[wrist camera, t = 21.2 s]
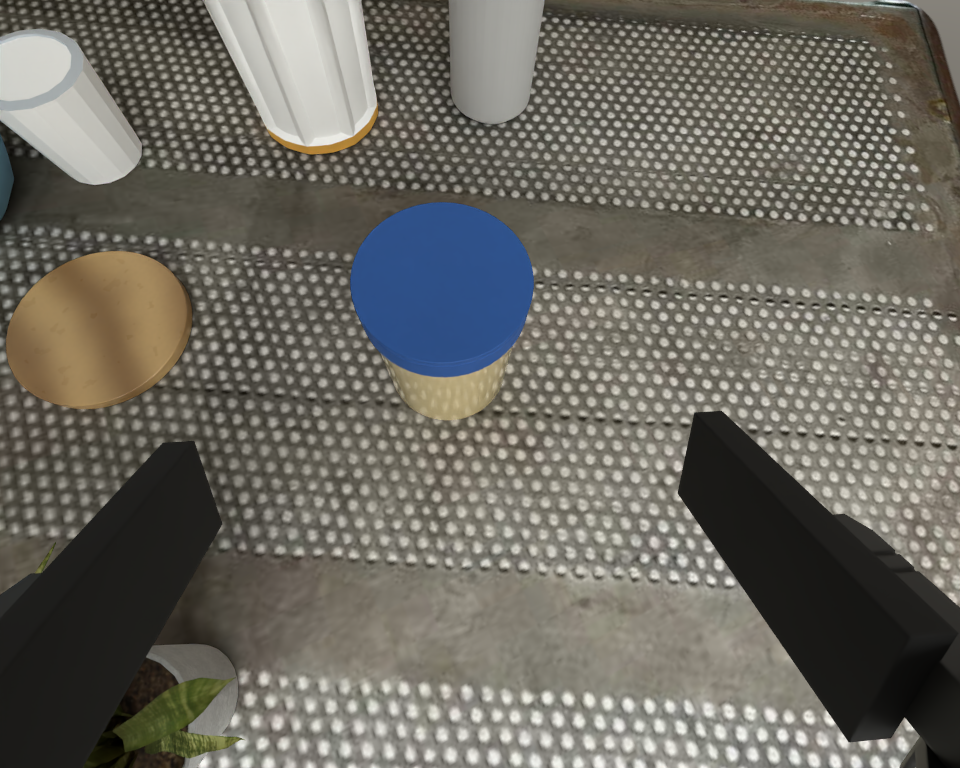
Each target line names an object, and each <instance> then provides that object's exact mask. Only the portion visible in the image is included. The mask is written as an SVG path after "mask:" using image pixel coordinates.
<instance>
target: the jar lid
mask: <svg viewBox="0 0 960 768" xmlns="http://www.w3.org/2000/svg"><path fill="white" fill-rule="evenodd" d="M533 289H534V277H533V270H532V266H531V262H530V259H529V256H528V254H527V252H526V250H525V248H524V246H523V245H522V243H521V242H520V240H519V238H518V237H517V236H516V235H515V234H514V233H513V231H512V230H511V229H509V228H508V227H507V226H506V225H505V224H504V223H503V222H501V221H500V220H498V219H497V218H496V217H494V216H492V215H490V214H488V213H487V212H484V211H482V210H480V209H477V208H474V207H471V206H467V205H463V204H457V203H446V202H438V203H427V204H421V205H417V206H413V207H410V208H407V209H404V210H402V211H399V212H397V213H396V214H394V215H392V216H390V217H388V218H387V219H386V220H384V221H383V222H381V223H380V224H379V225H378V226H377V227H376V228H374V229H373V230H372V231H371V233H370V234H369V235H368V236H367V237H366V238H365V240H364V241H363V243H362V245H361V246H360V248H359V250H358V252H357V254H356V256H355V259H354V262H353V266H352V270H351V277H350V290H351V296H352V301H353V304H354V307H355V310H356V312H357V315H358V317H359V319H360V322H361V324H362V326H363V328H364V330H365V332H366V334H367V336H368V338H369V339H370V341H371V342H372V344H373V345H374V346H375V348H376V349H377V350H378V351H379V352H380V353H381V354H382V355H383V356H385V357H386V358H387V359H388V360H390V361H391V362H393V363H394V364H396V365H397V366H399V367H401V368H403V369H406V370H408V371H410V372H413V373H417V374H420V375H424V376H430V377H457V376H462V375H466V374H470V373H473V372H476V371H479V370H481V369H483V368H485V367H487V366H489V365H491V364H492V363H494V362H495V361H497V360H498V359H499V358H501V357H502V356H503V355H504V354H505V353H506V352H507V351H508V350H509V349H510V348H511V347H512V346H513V344H514V343H515V341H516V340H517V338H518V337H519V335H520V333H521V331H522V329H523V327H524V324H525V321H526V317H527V314H528V311H529V307H530V304H531V300H532V296H533Z"/></svg>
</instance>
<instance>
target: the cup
mask: <svg viewBox="0 0 960 768" xmlns="http://www.w3.org/2000/svg"><path fill="white" fill-rule="evenodd" d="M203 2H204V4H205V6H206V8H207V10H208V12H209V14H210V16H211V18H212V20H213V22H214V24H215V26H216V28H217V30H218V32H219V34H220V36H221V38H222V40H223V42H224V44H225V46H226V48H227V50H228V52H229V54H230V56H231V58H232V60H233V62H234V64H235V66H236V68H237V70H238V72H239V74H240V76H241V77H242V79H243V81H244V83H245V85H246V87H247V89H248V91H249V93H250V95H251V97H252V99H253V101H254V103H255V105H256V107H257V109H258V111H259V114H260V116H261V118H262V121H263V122H264V124H265V126H266V129H267V130H268V132H269V134H270V136H271V137H272V138H273V139H275V140H276V141H277V142H279V143H280V144H282V145H284V146H285V147H287V148H289V149H292V150H295V151H298V152H302V153H306V154H324V153H333V152H336V151H339V150H342V149H345V148H348V147H350V146H352V145H355V144H356V143H357V142H359V141H360V140H361V139H362V138H363V137H364V136H365V135H366V134H367V133H368V132H369V131H370V130H371V128H372V126H373V125H374V123H375V120H376V118H377V116H378V104H377V98H376V92H375V88H374V83H373V77H372V70H371V63H370V57H369V50H368V43H367V37H366V30H365V24H364V17H363V10H362V4H361V0H203Z"/></svg>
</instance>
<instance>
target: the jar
mask: <svg viewBox="0 0 960 768" xmlns="http://www.w3.org/2000/svg"><path fill="white" fill-rule="evenodd" d="M512 347H513V346H512ZM512 347H511V348H510V349H509V350H508V351H507V352H506V353H505V354H504V355H503V356H502V357H501V358H499V359H498V360H497V361H495V362H494V363H492V364H491V365H489V366H487V367H485V368H483V369H481V370H479V371H476V372H473V373H470V374H466V375H462V376H457V377H430V376H424V375H420V374H417V373H413V372H410V371H408V370H406V369H403V368H401V367H399V366H397V365H396V364H394V363H393V362H391V361H390V360H388V359H387V358H386V357H385V356H383V355H382V354H381V355H382V357H383V360H384V362H385V365H386V367H387V370H388V372H389V374H390V377H391V379H392V382H393V384H394V387H395V389H396V391H397V393H398V394H399V396H400V397H401V398H402V400H403V401H404V402H405V403H406V404H407V405H408V406H409V407H410V408H412V409H413V410H415V411H416V412H418V413H420V414H422V415H424V416H427V417H429V418H433V419H438V420H457V419H462V418H466V417H469V416H471V415H473V414H476V413H477V412H479V411H481V410H482V409H483V408H485V407H486V406H487V405H488V404H489V403H490V402H491V401H492V400H493V399H494V398H495V396H496V395H497V393H498V392H499V390H500V388H501V385H502V383H503V380H504V376H505V373H506V369H507V365H508V361H509V358H510V354H511V350H512Z"/></svg>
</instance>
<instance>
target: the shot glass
mask: <svg viewBox="0 0 960 768" xmlns="http://www.w3.org/2000/svg"><path fill="white" fill-rule="evenodd" d="M0 121H1V122H2V123H4V124H5V125H6V126H7V127H9V128H10V129H11V130H13V131H14V132H15V133H16V134H18V135H19V136H20V137H21V138H23V139H24V140H25V141H26V142H28V143H29V144H30V145H31V146H33V147H34V148H35V149H36V150H38V151H39V152H40V153H41V154H43V155H44V156H45V157H46V158H48V159H49V160H50V161H51V162H53V163H54V164H55V165H56V166H58V167H59V168H60V169H61V170H63V171H64V172H65V173H67V174H68V175H69V176H71V177H72V178H74V179H75V180H77V181H78V182H80V183H86V184H91V185H98V184H106V183H111V182H113V181H116V180H118V179H120V178H122V177H125V176H126V175H127V174H128V173H129V172H130V171H132V170H133V169H134V168H135V167H136V165H137V164H138V162H139V160H140V158H141V156H142V143H141V142H140V140H139V138H138V137H137V135H136V133H135V132H134V130H133V129H132V127H131V126H130V124H129V123H128V121H127V119H126V118H125V116H124V115H123V113H122V112H121V110H120V109H119V107H118V106H117V104H116V103H115V101H114V99H113V98H112V96H111V95H110V93H109V92H108V90H107V89H106V87H105V86H104V84H103V83H102V81H101V79H100V78H99V76H98V75H97V73H96V72H95V70H94V69H93V67H92V66H91V64H90V63H89V61H88V59H87V58H86V56H85V55H84V53H83V52H82V50H81V49H80V47H79V46H78V44H77V43H76V41H74V40H73V39H71V38H69V37H68V36H66V35H64V34H63V33H61V32H56V31H51V30H45V29H32V30H21V31H16V32H13V33H10V34H8V35H5V36H2V37H0Z"/></svg>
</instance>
